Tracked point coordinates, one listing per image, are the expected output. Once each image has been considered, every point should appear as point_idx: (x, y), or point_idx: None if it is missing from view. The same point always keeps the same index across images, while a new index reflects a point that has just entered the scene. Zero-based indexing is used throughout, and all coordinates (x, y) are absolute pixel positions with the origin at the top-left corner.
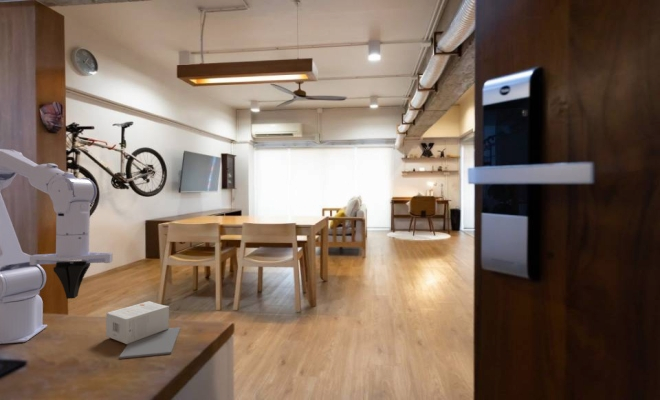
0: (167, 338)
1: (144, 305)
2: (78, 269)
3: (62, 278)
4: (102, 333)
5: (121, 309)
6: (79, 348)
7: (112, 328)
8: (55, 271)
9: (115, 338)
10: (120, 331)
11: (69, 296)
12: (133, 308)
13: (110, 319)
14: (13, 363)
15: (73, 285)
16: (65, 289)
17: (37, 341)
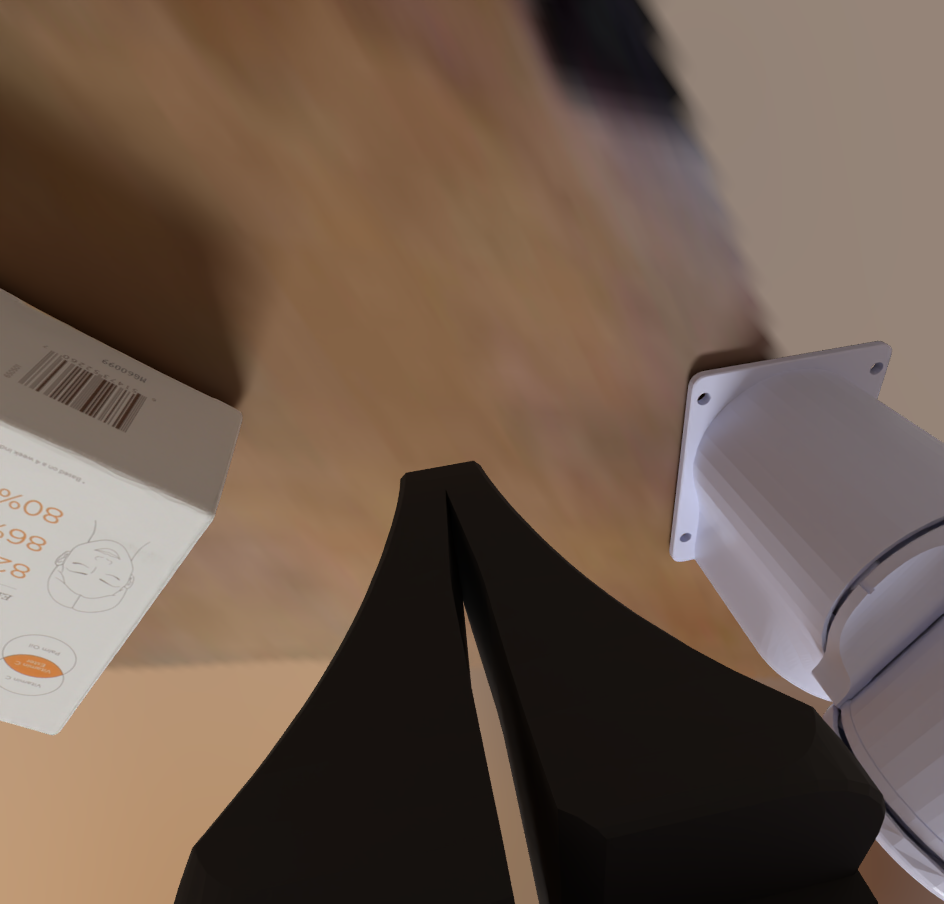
0: None
1: (5, 661)
2: (227, 862)
3: (585, 625)
4: (326, 481)
5: (135, 579)
6: (324, 264)
7: (146, 408)
8: (776, 708)
9: (126, 358)
10: (26, 348)
11: (446, 476)
12: (44, 603)
13: (159, 458)
14: (622, 47)
15: (400, 569)
16: (501, 515)
17: (634, 385)
